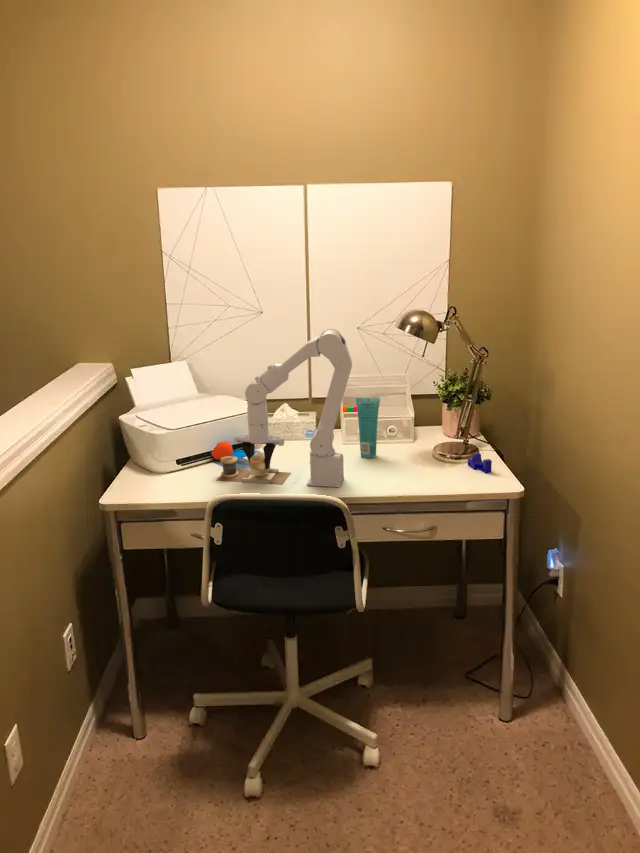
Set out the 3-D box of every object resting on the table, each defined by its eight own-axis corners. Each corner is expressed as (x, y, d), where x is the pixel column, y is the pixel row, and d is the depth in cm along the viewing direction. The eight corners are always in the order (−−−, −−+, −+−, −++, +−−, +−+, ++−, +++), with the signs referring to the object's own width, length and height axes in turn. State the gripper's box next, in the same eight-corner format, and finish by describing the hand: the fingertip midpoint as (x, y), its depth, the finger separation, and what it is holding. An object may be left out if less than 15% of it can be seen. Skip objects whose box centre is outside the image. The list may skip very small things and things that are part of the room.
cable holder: (467, 466, 225) (468, 453, 223) (477, 464, 226) (478, 452, 224) (480, 474, 217) (481, 461, 216) (491, 473, 218) (491, 460, 217)
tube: (379, 453, 237) (379, 395, 232) (380, 458, 233) (380, 399, 227) (356, 454, 237) (355, 396, 232) (356, 458, 232) (356, 400, 227)
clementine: (214, 467, 228) (213, 445, 226) (204, 461, 233) (203, 440, 231) (237, 461, 232) (236, 440, 230) (226, 456, 238) (225, 435, 236)
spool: (240, 472, 218) (239, 456, 217) (235, 478, 214) (234, 462, 212) (224, 471, 220) (223, 455, 218) (218, 477, 215) (217, 461, 213)
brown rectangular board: (291, 477, 218) (291, 469, 217) (282, 489, 208) (282, 481, 208) (228, 473, 222) (227, 465, 222) (216, 485, 213) (215, 477, 212)
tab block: (270, 468, 217) (269, 452, 215) (264, 476, 211) (263, 459, 210) (257, 468, 218) (256, 452, 216) (250, 475, 212) (249, 458, 210)
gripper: (286, 419, 212) (287, 464, 216) (238, 417, 215) (241, 461, 219) (279, 426, 205) (281, 472, 209) (230, 424, 209) (233, 469, 212)
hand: (260, 467), depth 214 cm, fingers closed on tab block, 4 cm apart
